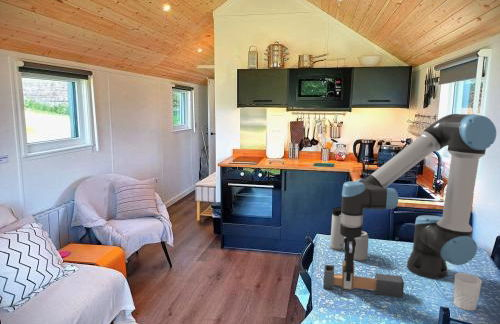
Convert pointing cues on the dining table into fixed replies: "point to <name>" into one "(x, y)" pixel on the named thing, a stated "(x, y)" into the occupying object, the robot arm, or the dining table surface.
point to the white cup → (466, 291)
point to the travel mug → (336, 230)
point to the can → (361, 247)
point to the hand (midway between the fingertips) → (347, 284)
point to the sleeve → (389, 285)
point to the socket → (328, 277)
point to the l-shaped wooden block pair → (355, 280)
